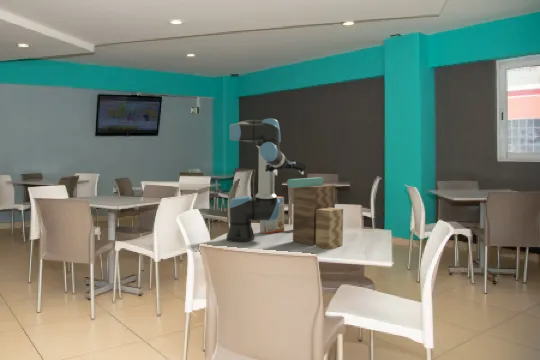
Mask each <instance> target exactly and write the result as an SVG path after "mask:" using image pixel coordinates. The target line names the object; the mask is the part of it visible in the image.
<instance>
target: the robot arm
mask: <svg viewBox="0 0 540 360" xmlns="http://www.w3.org/2000/svg"><path fill="white" fill-rule="evenodd" d="M281 138H282V137H281V130H280V124H279V121H278V120H277V119H275V118H271V117H270V118H265V119H246V120H243V121H238V122H237V123H230V125H229V140H230V141H232V142H233V141H236V142H247V143H255V146H256V147H257V149H258V183H257V184H258V188H257V189H258V192H257V193H256V194H255V198H252V196H251V195H244V196H237V197H236V196H235V197H233V198H231V199H230V201H229V227H228V229H227V230H228V231H227V233H226V241H229V242H234V243H235V242H236V243H237V242H240V243H241V242H242V243H244V242H246V243H247V242H252V241H255V233H254V230H253V227H252V221H260V220H268V221H269V220H275V219H276V218H277V216H278V212H279V203H280V201H279V199H277V197H278V196H277V194H276V193H275V176H278V171H281V170H284V169H286V170H287V169H288V170H290V169H291V170H297V171H298V172H299V173H300V174H301V175H304V172H305V171H306V169H307V164H305V163H302V162H299V161H296V160H295V159H292V161H290V160H288V159H287V157H286V156H285V154H284V153H282V151H281V150H280V143H281V141H282V139H281Z"/></svg>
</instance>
